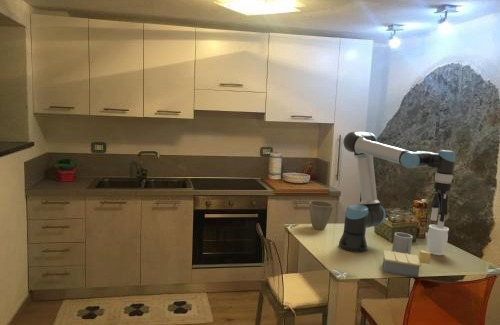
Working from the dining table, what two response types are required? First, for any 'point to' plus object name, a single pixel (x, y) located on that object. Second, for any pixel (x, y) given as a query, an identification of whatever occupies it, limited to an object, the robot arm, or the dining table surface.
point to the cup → (402, 243)
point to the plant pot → (320, 213)
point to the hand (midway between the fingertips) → (436, 223)
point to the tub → (401, 269)
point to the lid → (407, 257)
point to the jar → (437, 239)
